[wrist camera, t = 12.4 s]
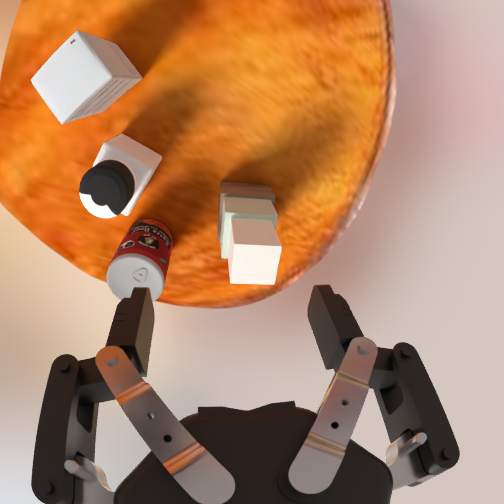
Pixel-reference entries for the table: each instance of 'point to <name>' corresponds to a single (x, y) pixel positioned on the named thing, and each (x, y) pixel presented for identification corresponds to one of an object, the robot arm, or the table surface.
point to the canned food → (141, 259)
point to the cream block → (253, 251)
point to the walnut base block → (242, 195)
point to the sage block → (244, 215)
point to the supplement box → (84, 77)
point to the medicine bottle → (118, 177)
